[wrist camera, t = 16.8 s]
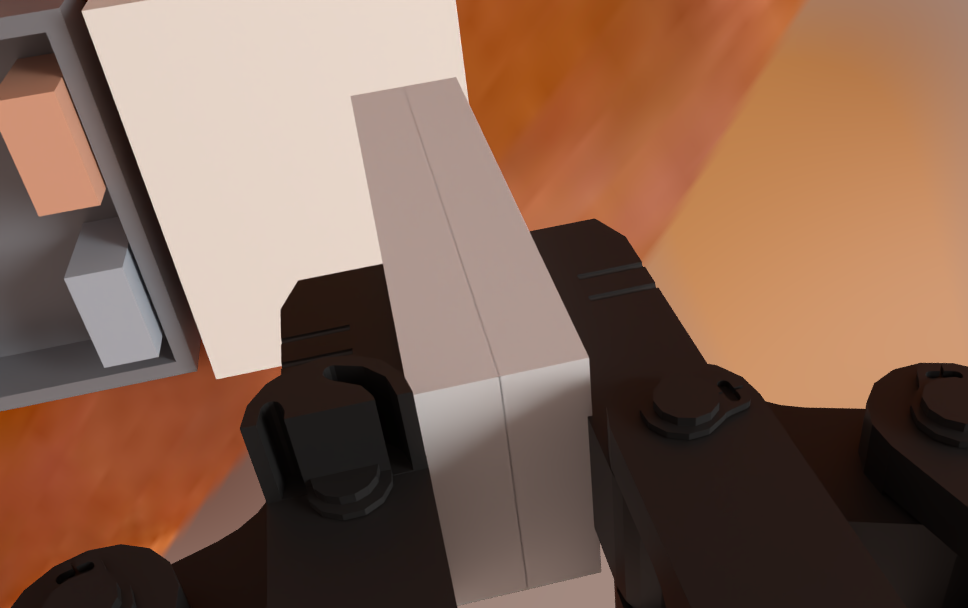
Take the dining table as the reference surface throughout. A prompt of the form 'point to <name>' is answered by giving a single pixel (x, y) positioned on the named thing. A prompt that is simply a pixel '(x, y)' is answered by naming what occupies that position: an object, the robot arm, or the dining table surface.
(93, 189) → the terracotta tile
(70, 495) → the dining table surface
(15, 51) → the box
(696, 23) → the dining table surface
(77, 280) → the slate tile
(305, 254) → the raised board
